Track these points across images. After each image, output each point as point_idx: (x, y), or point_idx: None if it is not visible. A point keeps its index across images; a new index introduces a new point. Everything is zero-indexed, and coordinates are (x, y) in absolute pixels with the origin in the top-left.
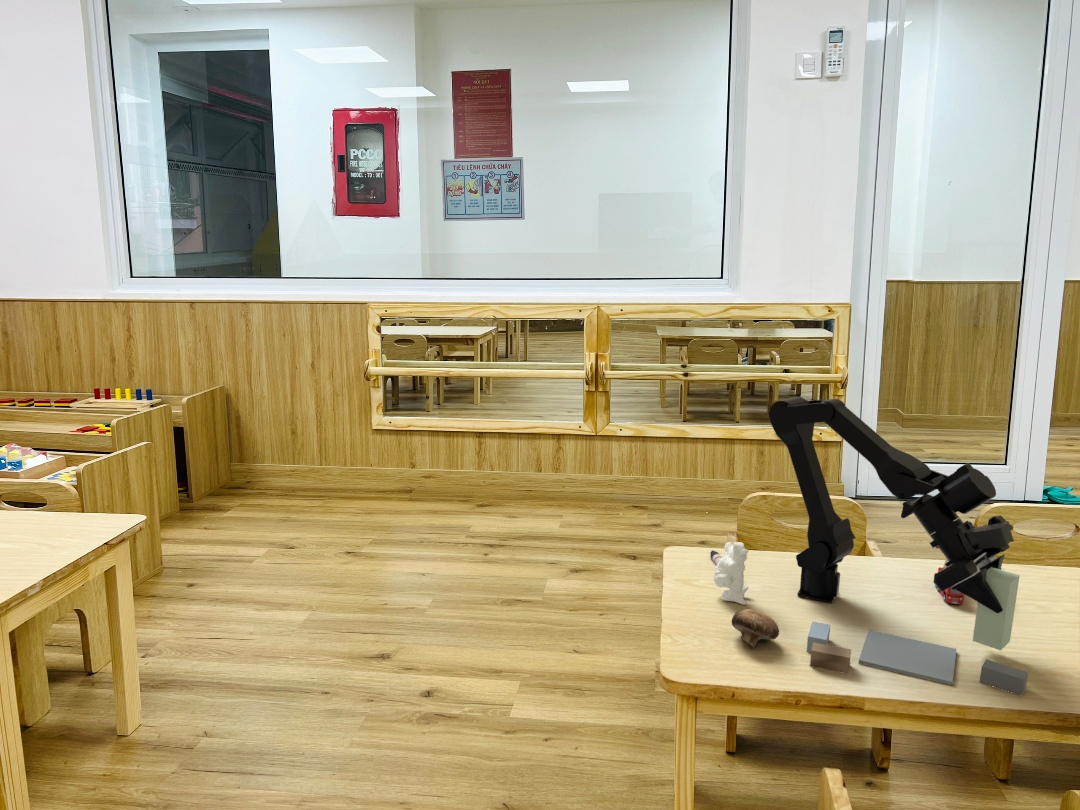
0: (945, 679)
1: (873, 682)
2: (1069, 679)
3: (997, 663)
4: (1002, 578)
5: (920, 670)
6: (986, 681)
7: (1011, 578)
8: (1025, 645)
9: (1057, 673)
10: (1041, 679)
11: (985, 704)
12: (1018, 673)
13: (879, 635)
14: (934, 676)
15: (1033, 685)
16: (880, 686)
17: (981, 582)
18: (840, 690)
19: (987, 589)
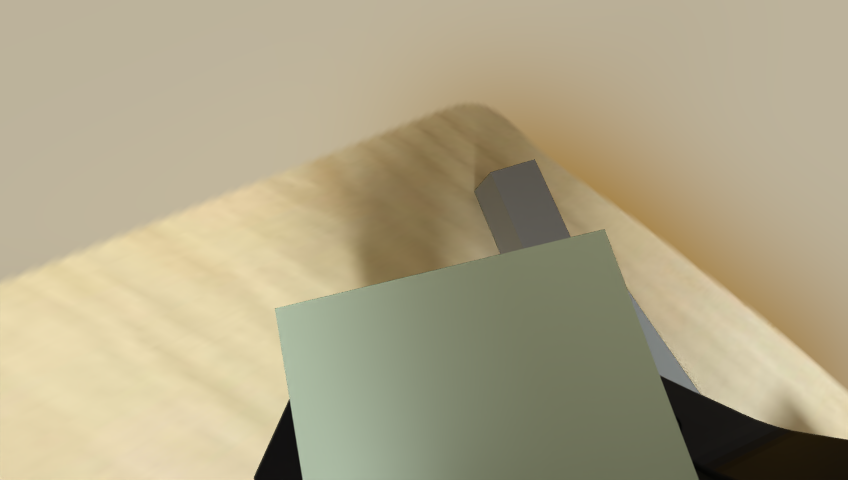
0: (632, 301)
1: (764, 387)
2: (338, 154)
3: (526, 241)
4: (595, 349)
5: (655, 363)
6: None
7: (488, 295)
8: (234, 323)
9: (333, 184)
10: (402, 191)
11: (609, 203)
12: (521, 182)
13: None
14: (645, 324)
15: (447, 188)
16: (759, 365)
17: (783, 433)
18: (841, 396)
19: (660, 375)
